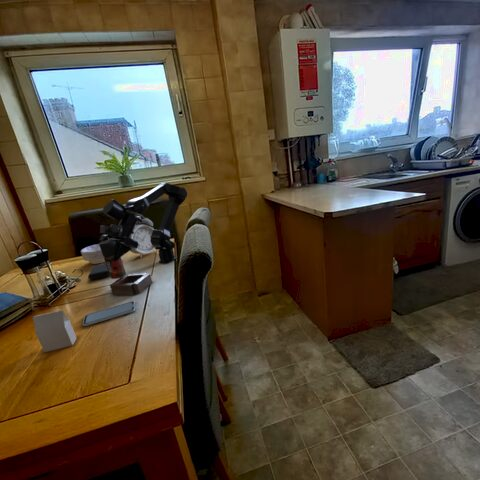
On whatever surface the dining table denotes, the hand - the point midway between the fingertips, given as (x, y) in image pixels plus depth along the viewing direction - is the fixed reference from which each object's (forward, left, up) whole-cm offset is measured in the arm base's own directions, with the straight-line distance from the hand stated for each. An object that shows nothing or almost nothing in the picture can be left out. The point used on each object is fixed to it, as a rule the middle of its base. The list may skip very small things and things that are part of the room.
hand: (109, 260), depth 112 cm
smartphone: (+19, +22, -10) cm, 31 cm away
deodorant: (-1, 0, -8) cm, 8 cm away
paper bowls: (-19, -39, -11) cm, 45 cm away
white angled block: (+35, +23, -11) cm, 43 cm away
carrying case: (-6, -18, -11) cm, 22 cm away
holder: (+2, +12, -10) cm, 16 cm away
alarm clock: (-32, -20, -11) cm, 39 cm away
